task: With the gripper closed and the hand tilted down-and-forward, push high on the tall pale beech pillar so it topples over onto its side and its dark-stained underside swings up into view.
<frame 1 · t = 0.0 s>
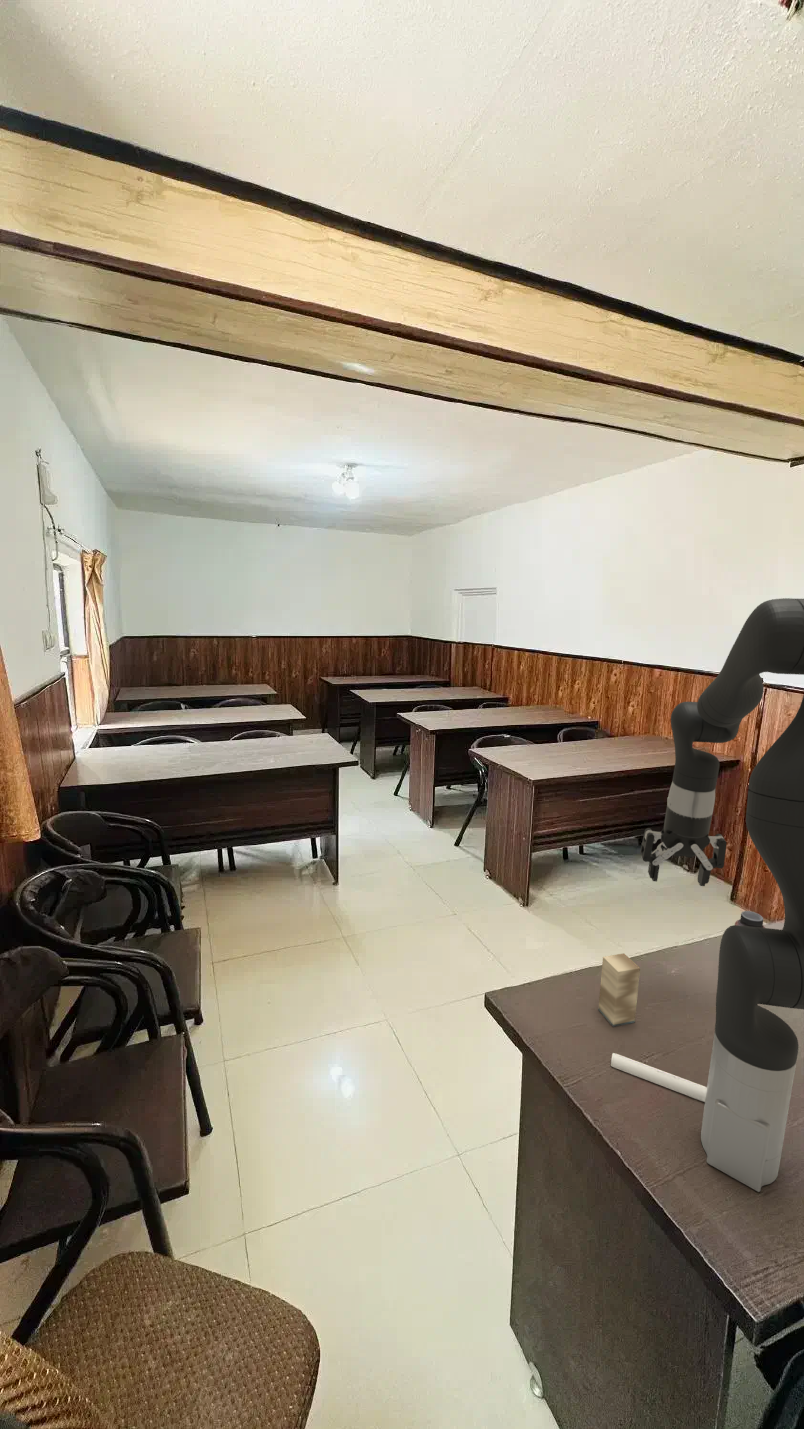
hand: (677, 881, 107), 22 cm above the table, tool pointing down, fingers open, 8 cm apart
beech block: (616, 1016, 102), on the table
marker: (671, 1089, 87), on the table
supplement bottle: (745, 965, 118), on the table
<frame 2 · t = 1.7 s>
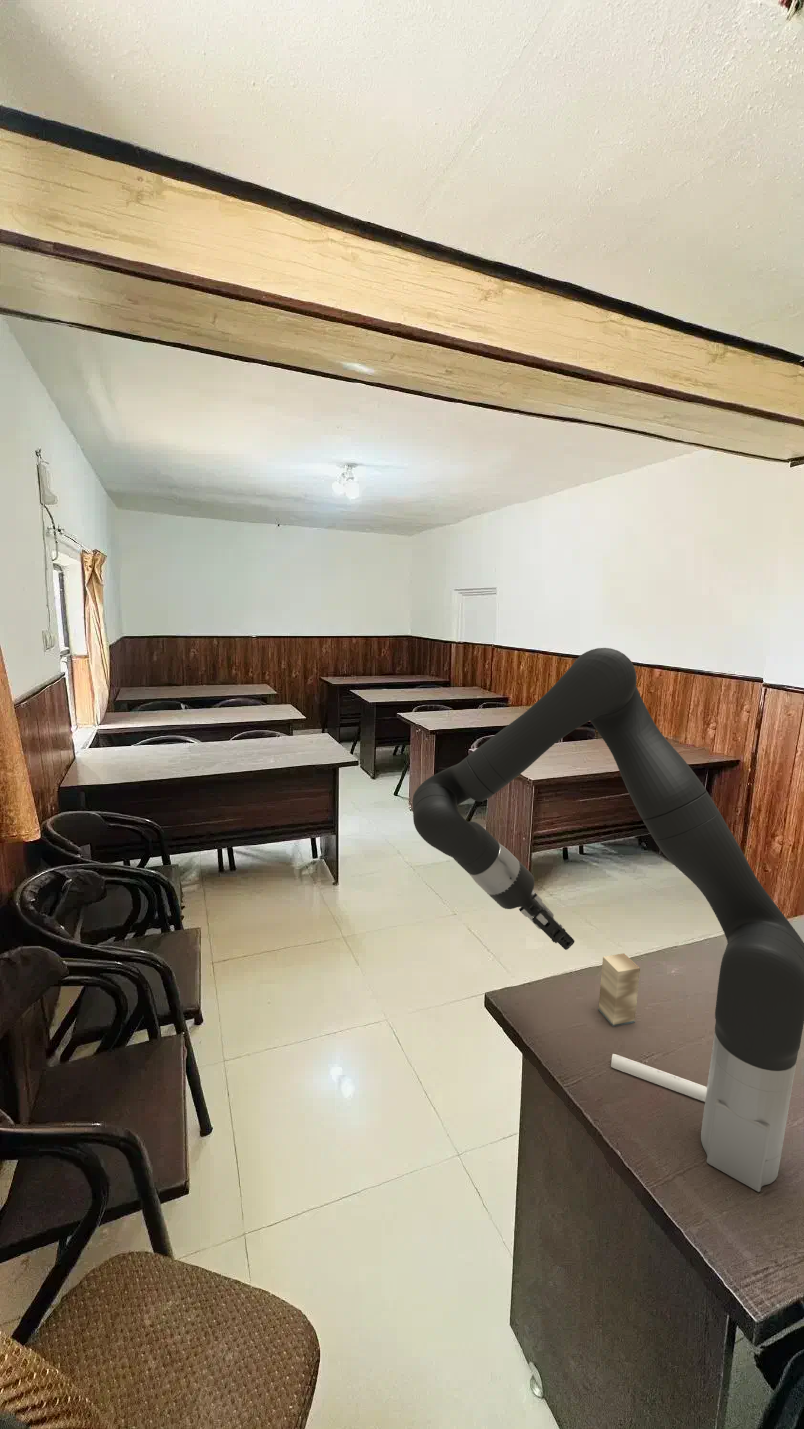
hand: (557, 930, 96), 19 cm above the table, tool tilted 45°, fingers open, 8 cm apart
nothing on the table moved.
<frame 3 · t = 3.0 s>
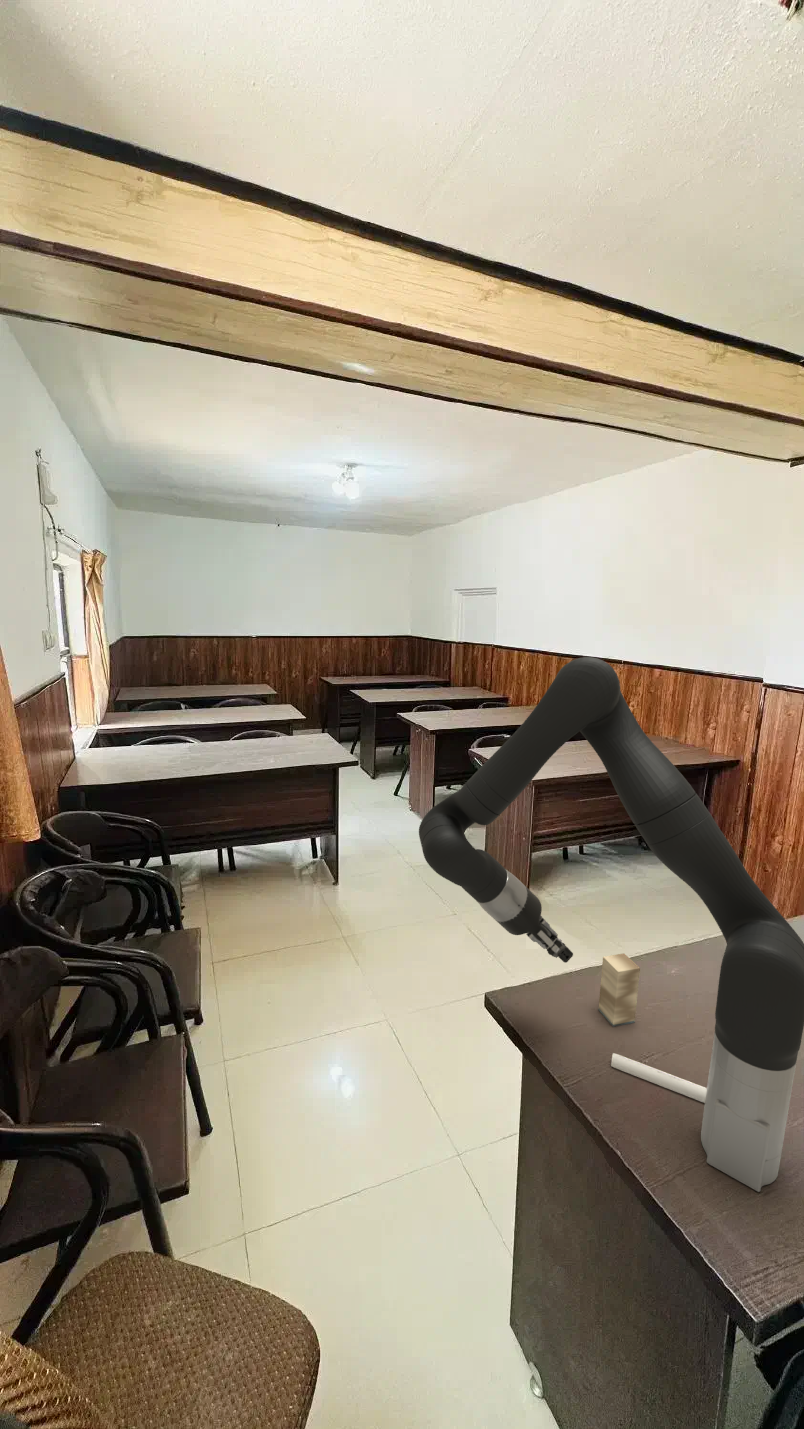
hand: (567, 956, 97), 14 cm above the table, tool tilted 45°, fingers closed
nothing on the table moved.
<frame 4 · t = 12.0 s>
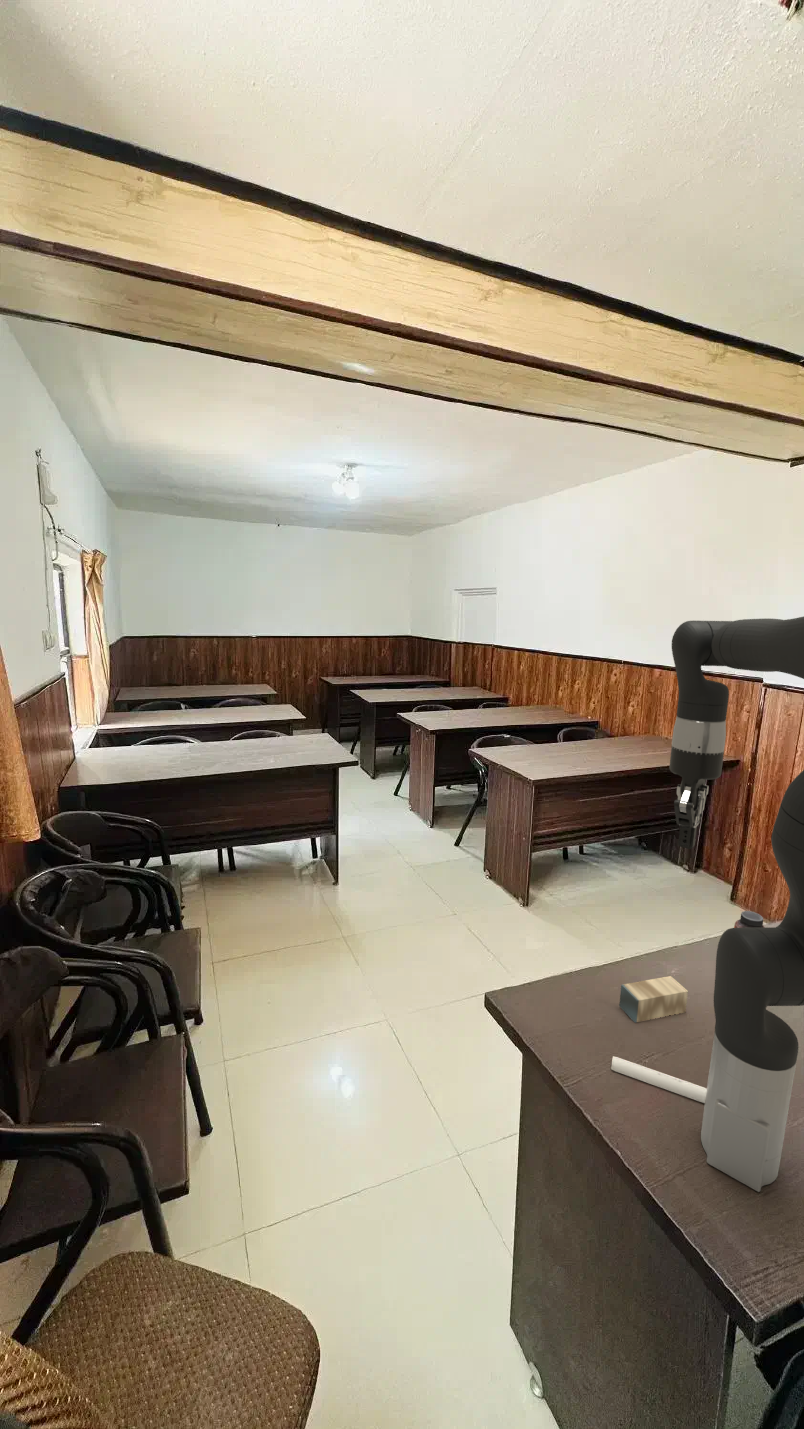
hand: (686, 846, 93), 35 cm above the table, tool pointing down, fingers closed
beech block: (627, 1003, 102), point 2 cm above the table, tilted 90°
everything else where it was.
at the end: beech block tilted 90°; beech block inside the target area (5.9 cm from its centre), point 2.2 cm above the table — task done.
